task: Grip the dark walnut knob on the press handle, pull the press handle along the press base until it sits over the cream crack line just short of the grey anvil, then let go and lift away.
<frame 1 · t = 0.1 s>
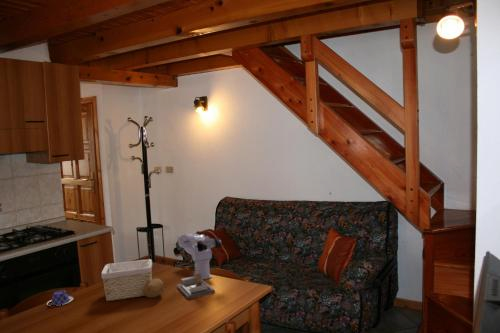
hand: (213, 246, 203), 22 cm above the table, tool horizontal, fingers open, 7 cm apart
storage basket: (129, 294, 203), on the table, touching potato
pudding: (60, 302, 197), on the table
press handle: (198, 282, 197), point 6 cm above the table, slide at 0.0 cm
potato: (154, 296, 198), on the table, touching storage basket
press base: (195, 290, 203), on the table
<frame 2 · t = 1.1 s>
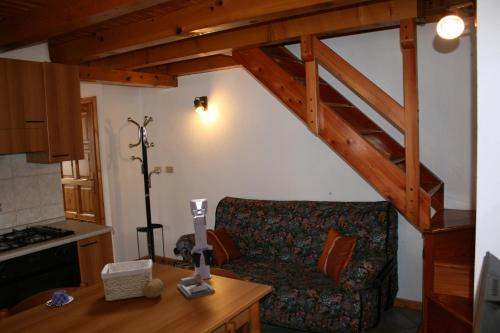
hand: (202, 266, 197), 14 cm above the table, tool tilted 20°, fingers open, 7 cm apart
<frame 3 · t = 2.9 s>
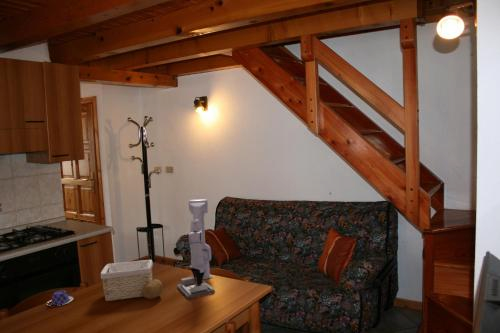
hand: (198, 282, 197), 6 cm above the table, tool pointing down, fingers closed on press handle, 3 cm apart
press handle: (198, 282, 197), point 6 cm above the table, slide at 0.0 cm, touching gripper
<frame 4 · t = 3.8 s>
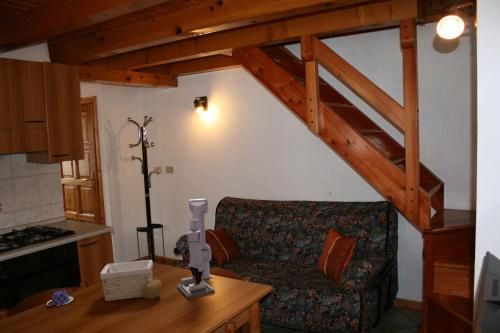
hand: (197, 281, 199), 6 cm above the table, tool pointing down, fingers closed on press handle, 3 cm apart
press handle: (197, 281, 199), point 6 cm above the table, slide at 2.0 cm, touching gripper
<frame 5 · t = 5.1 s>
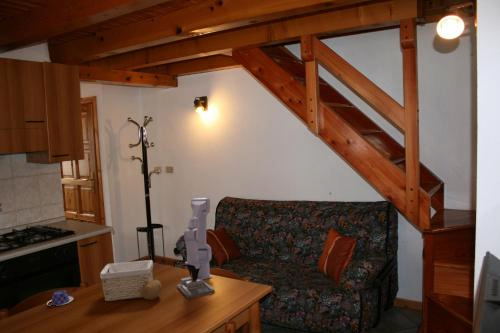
hand: (194, 278, 204), 6 cm above the table, tool pointing down, fingers closed on press handle, 3 cm apart
press handle: (194, 278, 203), point 6 cm above the table, slide at 7.0 cm, touching gripper
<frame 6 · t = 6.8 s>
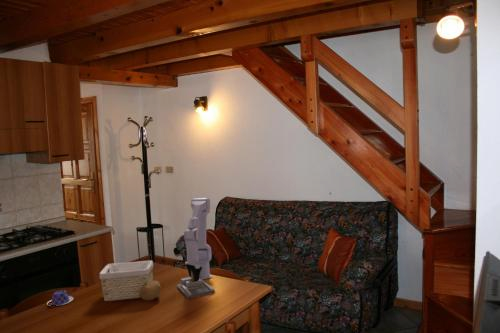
hand: (194, 278, 204), 6 cm above the table, tool pointing down, fingers open, 7 cm apart
press handle: (194, 278, 203), point 6 cm above the table, slide at 7.0 cm
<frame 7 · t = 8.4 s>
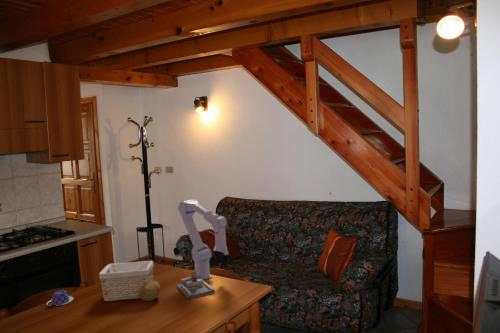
hand: (222, 265, 211), 9 cm above the table, tool pointing down, fingers open, 7 cm apart
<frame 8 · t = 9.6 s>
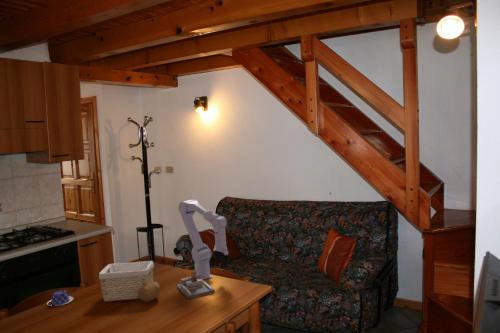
hand: (222, 265, 211), 9 cm above the table, tool pointing down, fingers open, 7 cm apart
at the end: press handle slide at 7.0 cm; the gripper is holding nothing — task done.
